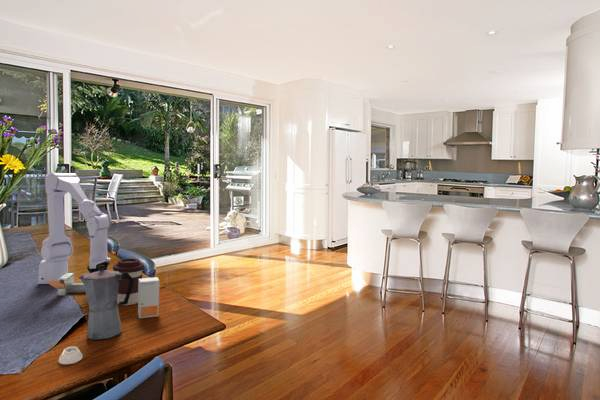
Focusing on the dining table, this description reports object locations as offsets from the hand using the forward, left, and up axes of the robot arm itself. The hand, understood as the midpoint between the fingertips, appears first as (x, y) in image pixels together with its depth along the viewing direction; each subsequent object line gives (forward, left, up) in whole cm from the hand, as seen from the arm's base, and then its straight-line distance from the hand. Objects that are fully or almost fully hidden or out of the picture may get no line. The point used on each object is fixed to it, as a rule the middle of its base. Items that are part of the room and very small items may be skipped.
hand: (98, 282), depth 145 cm
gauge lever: (-11, -8, +1) cm, 14 cm away
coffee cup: (+14, -13, -4) cm, 19 cm away
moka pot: (+14, -39, -4) cm, 41 cm away
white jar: (+10, -54, -4) cm, 55 cm away
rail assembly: (-4, 0, -3) cm, 5 cm away
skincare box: (+22, -26, -4) cm, 35 cm away
